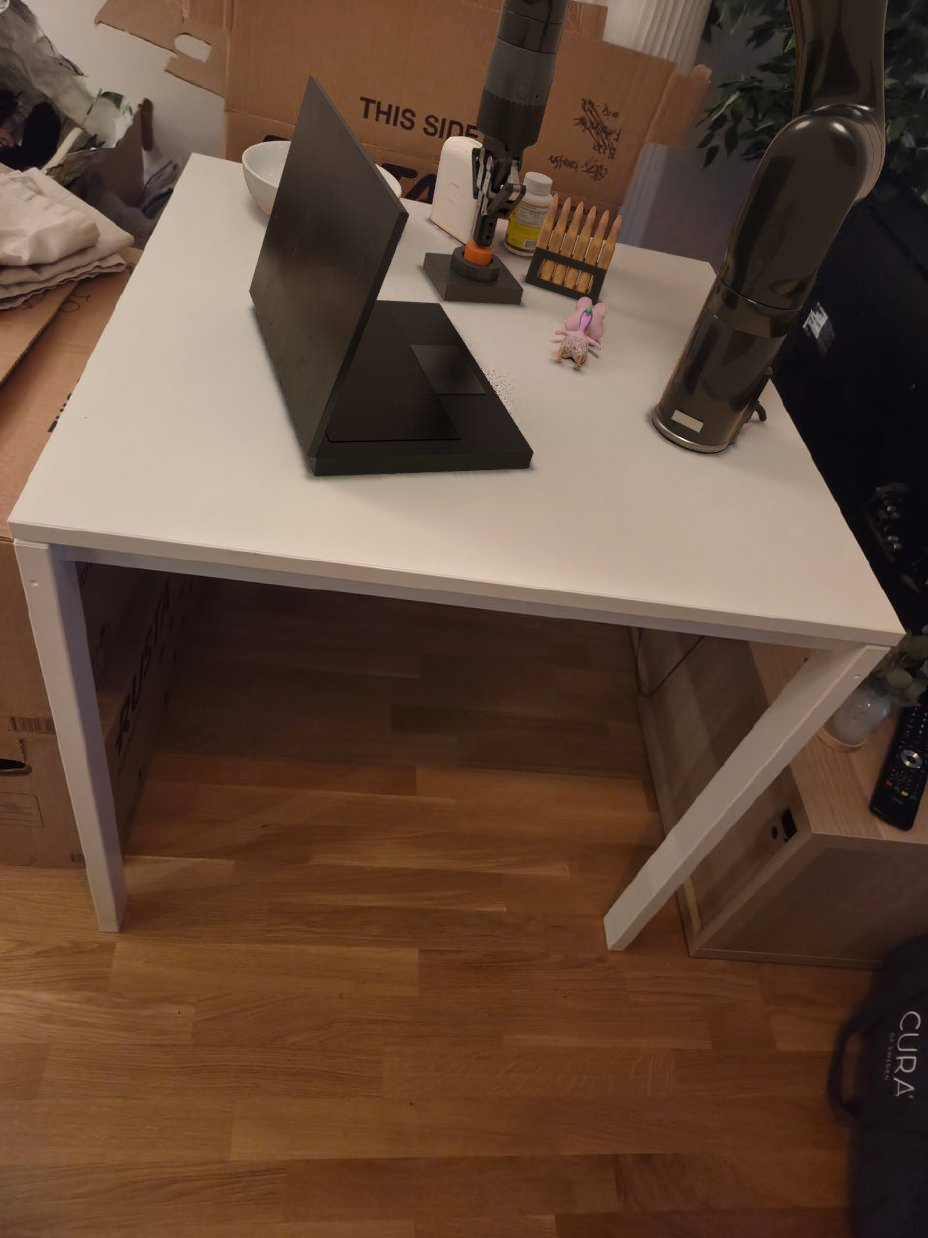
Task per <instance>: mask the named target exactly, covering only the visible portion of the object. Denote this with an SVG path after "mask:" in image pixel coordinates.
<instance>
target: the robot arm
mask: <svg viewBox="0 0 928 1238" xmlns="http://www.w3.org/2000/svg"><path fill="white" fill-rule="evenodd" d="M888 3H889V0H787V4H788V8H789V13H790V19H791V23H792V29H793V35H794V45H795V81H794V95H793V106H792V117H791V121H790V122H788V123H787V124H786V125H785V126H783V127H782V128H781V129H780V130H779V131H778V133H776V135H774V137H773V139H772V140H771V142H770V144H768V147H767V148H766V150H765V152H764V154H763V156H762V158H761V160H760V162H759V164H758V166H757V168H756V170H755V172H754V175H753V176H752V179H751V182H750V184H749V186H748V189H747V191H746V192H745V193H746V194H745V196H744V197H743V200H742V203H741V205H740V207H739V210H738V212H737V214H736V217H735V219H734V222H733V225H732V227H731V229H730V231H729V234H728V237H727V241H726V247H725V254H724V258H723V259H722V263H721V265H720V267H719V269H718V271H717V274H716V276H715V278H714V280H713V282H712V284H711V287H710V289H709V291H708V293H707V295H706V298H705V300H704V303H703V304H702V306H701V309H700V311H699V313H698V315H697V317H696V320H695V322H694V324H693V327H692V328H691V330H690V333H689V335H688V337H687V340H686V341H685V344H684V346H683V348H682V350H681V353H680V355H679V357H678V359H677V362H676V364H675V366H674V368H673V370H672V372H671V375H670V377H669V379H668V381H667V384H666V385H665V388H664V390H663V392H662V395H661V396H660V399H659V400H658V403H657V404H656V405H655V408H654V409H653V412H652V415H651V417H652V422H653V424H654V426H655V427H656V429H657V430H658V431H659V432H660V434H662V435H663V436H664V437H665V438H667V439H669V440H670V441H672V442H673V443H675V444H677V445H679V446H682V447H683V448H687V449H689V450H692V451H695V452H696V451H697V452H702V453H716V452H720V451H722V450H724V449H725V448H726V447H727V446H728V445H729V444H735V442H736V440H737V438H738V436H739V435H740V433H741V431H742V430H743V428H744V426H745V424H749V422H750V420H751V419H752V417H753V415H754V413H755V412H756V413H757V415H758V417H757V418H758V420H759V422H761V423H765V422H766V421H767V420H768V418H767V412H766V409H765V408H764V407H763V405H762V404H761V403H760V402H761V401H760V400H759V398H760V397H761V395H762V394H763V393H764V390H765V388H766V386H767V384H768V383H769V381H770V379H771V378H772V375H773V369H772V367H770V366H771V365H772V363H773V361H774V359H775V357H776V355H777V353H778V352H779V350H780V348H781V347H782V345H783V342H784V341H785V339H786V337H787V335H788V333H789V331H790V329H791V328H792V326H793V324H794V323H795V320H796V319H797V317H798V315H799V314H800V311H801V310H802V308H803V306H804V305H805V303H806V301H807V299H808V298H809V295H810V294H811V293H812V292H811V291H812V290H813V289H814V286H815V285H816V282H817V274H818V271H819V268H820V266H821V264H822V261H823V260H824V258H825V256H826V254H827V252H828V251H829V249H830V247H831V245H832V243H833V241H834V239H835V237H836V235H837V233H838V232H839V230H840V227H841V226H842V224H843V223H844V220H845V219H846V217H847V216H848V213H849V212H850V211H851V209H853V208H855V207H856V206H858V205H859V204H860V203H861V202H862V201H863V200H864V199H865V198H866V197H867V196H868V195H869V193H870V192H871V190H872V189H873V188H874V187H875V184H876V183H877V181H878V179H879V177H880V175H881V172H882V169H883V165H884V162H885V155H886V120H885V119H886V118H885V117H886V116H885V78H884V77H885V71H884V70H885V65H884V62H885V61H884V55H885V54H884V51H885V30H886V29H885V27H886V20H887V10H888V9H887V8H888ZM569 7H570V0H502V4H501V8H500V13H499V18H498V23H497V30H496V35H495V38H494V42H493V45H492V48H491V50H490V54H489V58H488V62H487V66H486V72H485V77H484V83H483V87H482V92H481V96H480V102H479V106H478V110H477V111H478V112H477V116H476V122H475V126H476V130H477V131H478V132H479V133H480V134H481V135H483V139H482V143H481V144H482V147H481V148H473V149H472V182H473V199H475V200H477V210H479V211H478V216H477V220H476V225H475V229H474V234H473V240H474V242H475V243H476V244H477V246H481V247H490V246H491V247H492V244H493V241H494V237H495V233H496V228H497V224H498V220H499V219H509V217H510V214H511V213H512V211H513V210H514V209H515V207H516V206H517V205H518V204H519V202H520V201H521V200H522V198H523V197H524V196H525V194H526V185H523V184H522V183H520V177H519V175H520V173H521V171H522V168H523V159H524V151H525V149H527V148H529V147H533V146H534V145H536V143H537V142H538V140H539V136H540V132H541V128H542V124H543V121H544V118H545V113H546V108H547V106H548V101H549V97H550V92H551V89H552V85H553V81H554V76H555V70H556V62H557V56H558V52H559V47H560V44H561V40H562V35H563V31H564V28H565V23H566V19H567V16H568V11H569Z"/></svg>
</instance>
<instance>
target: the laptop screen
mask: <svg viewBox="0 0 928 1238" xmlns="http://www.w3.org/2000/svg"><path fill="white" fill-rule="evenodd" d="M290 141H291V144H290V147H289V151H288V154H287V158H286V161H285V165H284V168H283V172H282V176H281V179H280V183H279V186H278V190H277V193H276V197H275V200H274V204H273V208H272V211H271V215H269V218H268V222H267V226H266V230H265V232H264V236H263V240H262V243H261V247H260V251H259V254H258V258H257V261H256V264H255V268H254V272H253V275H252V279H251V282H250V285H249V288H248V289H249V290H248V293H249V295H250V298H251V301H252V304H253V307H254V309H255V313H256V316H257V318H258V321H259V324H260V327H261V330H262V333H263V336H264V339H265V341H266V344H267V346H268V349H269V353H270V355H271V358H272V361H273V364H274V367H275V369H276V370H275V371H276V373H277V375H278V378H279V381H280V384H281V387H282V389H283V392H284V395H285V398H286V401H287V404H288V407H289V409H290V412H291V415H292V418H293V421H294V423H295V427H296V430H297V432H298V435H299V438H300V441H301V443H302V446H303V449H304V452H305V455H306V457H307V458H308V457H313V458H315V456H316V454H317V451H318V449H319V446H320V444H321V441H322V438H323V436H324V433H325V431H326V428H327V426H328V423H329V421H330V418H331V415H332V413H333V410H334V408H335V405H336V403H337V400H338V397H339V395H340V392H341V390H342V387H343V385H344V382H345V379H346V377H347V374H348V372H349V369H350V367H351V364H352V361H353V359H354V356H355V354H356V351H357V349H358V346H359V343H360V341H361V338H362V336H363V333H364V331H365V328H366V325H367V323H368V320H369V318H370V315H371V313H372V310H373V308H374V305H375V302H376V300H378V297H379V294H380V292H381V289H382V287H383V284H384V281H385V279H386V277H387V274H388V271H389V269H390V266H391V263H392V261H393V259H394V256H395V255H396V254H395V253H396V251H397V248H398V246H399V243H400V242H401V238H402V235H403V233H404V231H405V228H406V226H407V222H408V220H409V217H410V213H409V212H408V210H407V209H406V207H405V206H404V204H403V202H402V201H401V199H400V200H399V198H398V197H397V196H396V194H395V193H394V191H393V190H392V188H391V187H390V185H389V184H388V182H387V181H386V179H385V178H384V176H383V175H382V173H381V172H380V171H379V169H378V168H377V166H376V165H377V164H376V163H375V161H374V160H373V159H372V157H371V156H370V154H369V153H368V151H367V150H366V149H365V147H364V145H363V144H362V142H361V141H360V140H359V138H358V136H357V135H356V133H355V132H354V130H352V128H351V126H350V125H349V124H348V122H347V120H346V119H345V117H344V116H343V114H342V113H341V111H340V110H339V108H338V107H337V106H336V104H335V103H334V102H333V100H332V99H331V96H330V95H329V94H328V92H327V91H326V90H325V88H324V86H323V85H322V84H321V82H320V80H319V79H318V78H317V77H315V76H312V75H309V77H308V80H307V84H306V87H305V90H304V95H303V97H302V101H301V105H300V110H299V111H298V114H297V119H296V123H295V126H294V130H293V133H292V136H291V140H290ZM375 164H376V165H375Z"/></svg>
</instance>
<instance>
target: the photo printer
mask: <svg viewBox="0 0 928 1238" xmlns="http://www.w3.org/2000/svg"><path fill="white" fill-rule="evenodd" d="M482 144H483V143H481V142H479V141H478V140H475V139H474V138H471V137H468V136H460V135H459V136H449V137H448V138H447V139H446V141H444V144H443V145H442V149H441V152H440V158H439V163H438V168H437V175H436V179H435V180H436V181H435V187H434V192H433V197H432V204H431V205H432V206H431V209H430V220H431V221H432V222H433V223H434V224H436V225H437V226H438V227H440V229H443V230H444V231H445V232H446V233H448V234H449V235H451V236H452V237H454V238H455V239H457V240H458V241H459V242H461V243H463V244H464V245H466V244H467V242H469V241H474V240H473V234H474V229H475V225H476V220H477V216H478V211H479V210H477V200H475V199H473V182H472V149H473V148H481V147H482Z"/></svg>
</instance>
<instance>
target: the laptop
mask: <svg viewBox="0 0 928 1238" xmlns="http://www.w3.org/2000/svg"><path fill="white" fill-rule="evenodd" d="M534 454H535V452H534V450H533V449H532V447H531V445H530V444H529V442H528V440H527V439H526V437H525V436H524V434H523V433H522V430H521V429H520V428H519V426H518V425H517V423H516V421H515V420H514V418H513V417H512V415H511V413H510V412H509V410H508V409H507V407H506V406H505V404H504V402H503V401H502V400H501V398H500V397H499V395H498V393H497V391H496V390H495V388H494V387H493V385H492V384H491V381H490V380H489V379H488V377H487V375H486V373H484V371H483V369H482V368H481V366H480V365H479V363H478V362H477V360H476V358H475V357H474V355H473V353H472V351H470V349H469V347H468V345H467V344H466V343H465V341H464V339H463V338H462V336H461V334H460V333H459V332H458V330H457V328H456V327H455V325H454V323H453V322H452V321H451V319H450V317H449V316H448V314H447V312H446V311H445V309H444V308H443V306H442V305H441V303H440V302H425V301H405V300H388V299H387V300H386V299H385V300H384V299H377V300H376V302H375V305H374V308H373V310H372V313H371V315H370V318H369V320H368V323H367V325H366V328H365V331H364V333H363V336H362V338H361V341H360V343H359V346H358V349H357V351H356V354H355V356H354V359H353V361H352V364H351V367H350V369H349V372H348V374H347V377H346V379H345V382H344V385H343V387H342V390H341V392H340V395H339V397H338V400H337V403H336V405H335V408H334V410H333V413H332V415H331V418H330V421H329V423H328V426H327V428H326V431H325V433H324V436H323V438H322V441H321V444H320V446H319V449H318V451H317V454H316V456H315V458H313V457H307V459H308V461H309V465H310V468H311V470H312V473H313V475H314V477H328V476H329V477H332V476H353V475H354V476H356V475H357V476H358V475H359V476H360V475H381V474H384V475H385V474H407V473H408V474H409V473H411V474H412V473H431V472H432V473H433V472H459V471H461V472H462V471H486V470H487V471H488V470H515V469H516V470H517V469H529V467H530V465H531V463H532V459H533V456H534Z"/></svg>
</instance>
